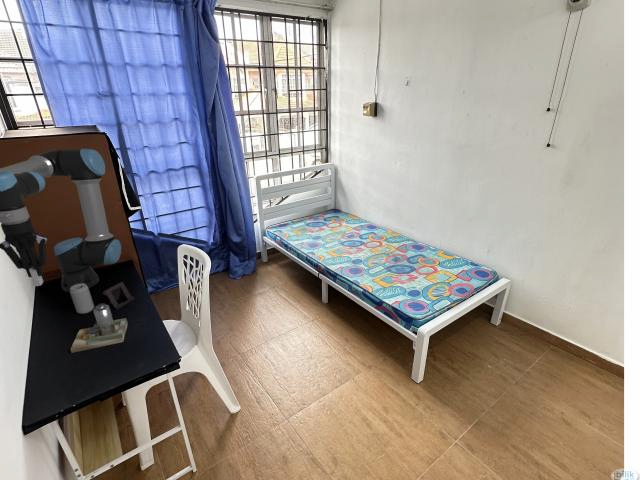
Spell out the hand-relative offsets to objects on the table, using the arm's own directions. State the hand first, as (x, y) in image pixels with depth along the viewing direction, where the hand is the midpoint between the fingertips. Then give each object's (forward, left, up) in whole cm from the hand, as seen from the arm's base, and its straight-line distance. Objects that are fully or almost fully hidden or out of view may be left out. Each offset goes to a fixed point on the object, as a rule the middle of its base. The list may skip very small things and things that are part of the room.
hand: (39, 284), depth 116 cm
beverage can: (-19, +4, -25) cm, 31 cm away
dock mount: (+4, +14, -24) cm, 28 cm away
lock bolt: (+4, +12, -23) cm, 26 cm away
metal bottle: (+4, +17, -23) cm, 29 cm away
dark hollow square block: (-20, +17, -25) cm, 36 cm away
